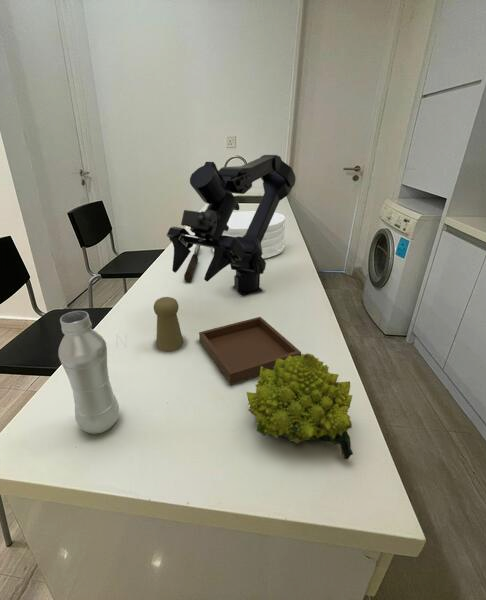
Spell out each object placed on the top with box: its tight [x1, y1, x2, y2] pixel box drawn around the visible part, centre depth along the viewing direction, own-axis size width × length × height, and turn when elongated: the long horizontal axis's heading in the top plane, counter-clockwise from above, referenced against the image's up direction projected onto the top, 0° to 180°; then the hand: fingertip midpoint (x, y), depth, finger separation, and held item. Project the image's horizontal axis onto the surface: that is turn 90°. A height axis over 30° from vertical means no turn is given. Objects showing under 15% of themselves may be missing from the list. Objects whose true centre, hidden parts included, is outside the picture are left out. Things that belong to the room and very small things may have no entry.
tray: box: [198, 316, 302, 386], centre depth 69 cm, size 16×16×3 cm
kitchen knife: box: [183, 245, 201, 283], centre depth 118 cm, size 36×2×5 cm, turn 175°
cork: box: [153, 296, 184, 353], centre depth 71 cm, size 6×6×11 cm
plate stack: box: [211, 210, 286, 260], centre depth 128 cm, size 28×28×12 cm
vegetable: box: [246, 353, 354, 461], centre depth 51 cm, size 15×16×15 cm
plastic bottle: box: [57, 310, 120, 435], centre depth 49 cm, size 6×7×20 cm
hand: (189, 276), depth 73 cm, fingers open, 9 cm apart
